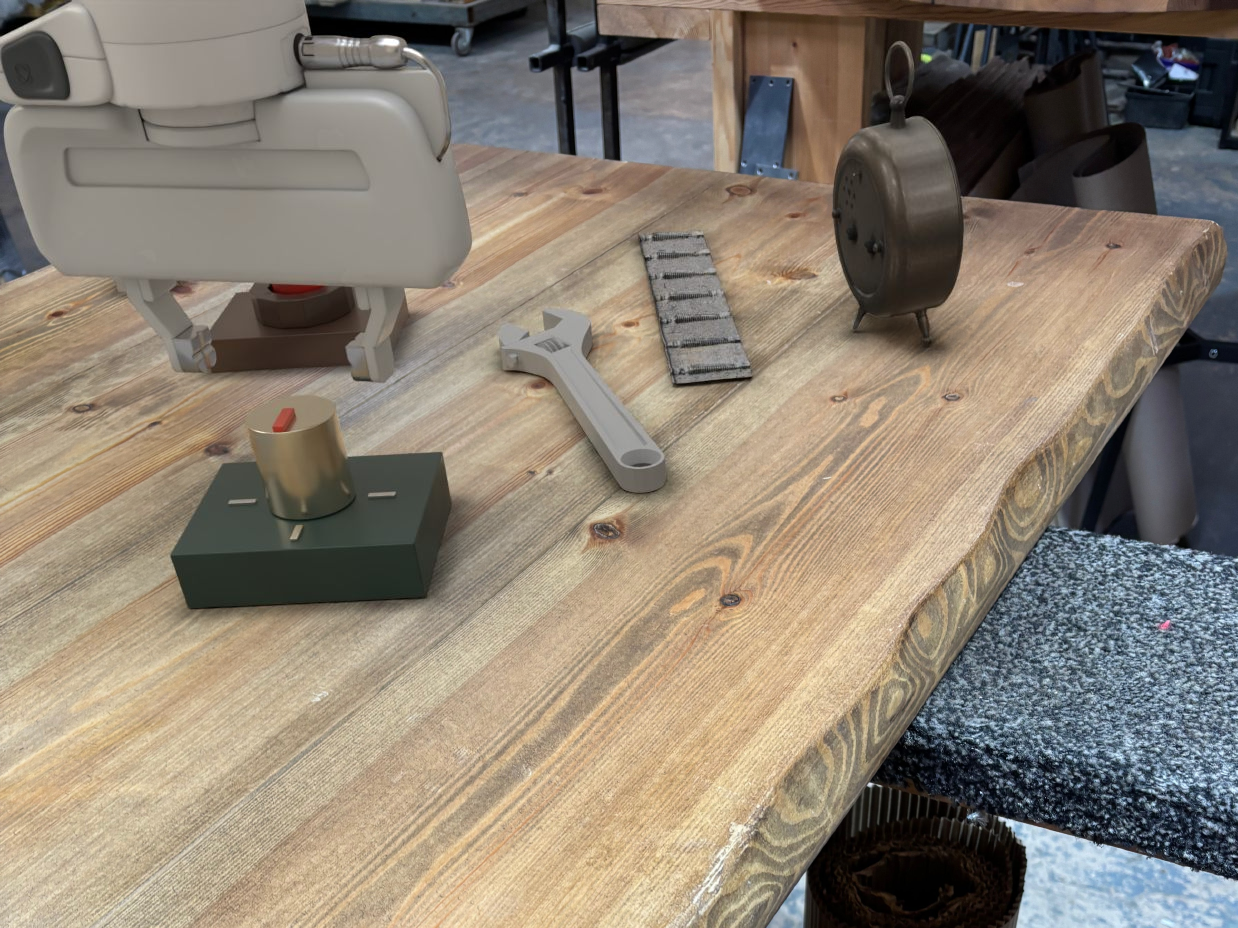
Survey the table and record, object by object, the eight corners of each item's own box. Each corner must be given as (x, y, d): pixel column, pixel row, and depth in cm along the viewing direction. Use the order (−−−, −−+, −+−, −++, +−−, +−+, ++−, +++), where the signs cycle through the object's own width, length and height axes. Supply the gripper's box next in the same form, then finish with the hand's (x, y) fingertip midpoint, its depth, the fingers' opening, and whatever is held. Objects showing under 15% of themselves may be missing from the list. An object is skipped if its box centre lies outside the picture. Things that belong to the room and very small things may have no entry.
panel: (187, 609, 66) (167, 551, 64) (237, 513, 74) (221, 459, 71) (425, 598, 66) (413, 539, 63) (452, 502, 73) (442, 448, 71)
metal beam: (701, 237, 105) (637, 239, 104) (701, 224, 104) (636, 227, 104) (753, 380, 83) (671, 384, 82) (753, 365, 82) (671, 370, 82)
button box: (211, 373, 89) (193, 312, 86) (244, 323, 96) (228, 265, 93) (388, 363, 88) (375, 301, 86) (409, 314, 95) (398, 255, 92)
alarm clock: (959, 349, 84) (985, 53, 73) (880, 363, 83) (895, 66, 72) (889, 293, 92) (903, 19, 81) (816, 306, 91) (820, 30, 80)
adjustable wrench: (674, 490, 73) (672, 459, 71) (559, 510, 72) (555, 479, 71) (584, 328, 91) (581, 301, 89) (491, 343, 90) (487, 316, 89)
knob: (280, 481, 69) (256, 390, 66) (363, 477, 69) (342, 386, 66) (258, 521, 66) (231, 428, 63) (345, 518, 66) (322, 424, 62)
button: (268, 300, 88) (261, 272, 87) (280, 281, 91) (274, 254, 90) (321, 297, 88) (315, 269, 87) (332, 278, 91) (326, 251, 90)
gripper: (465, 17, 54) (510, 357, 64) (32, 23, 59) (134, 339, 68) (406, 52, 50) (463, 412, 59) (-57, 55, 54) (64, 389, 64)
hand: (284, 373), depth 64 cm, fingers open, 8 cm apart
